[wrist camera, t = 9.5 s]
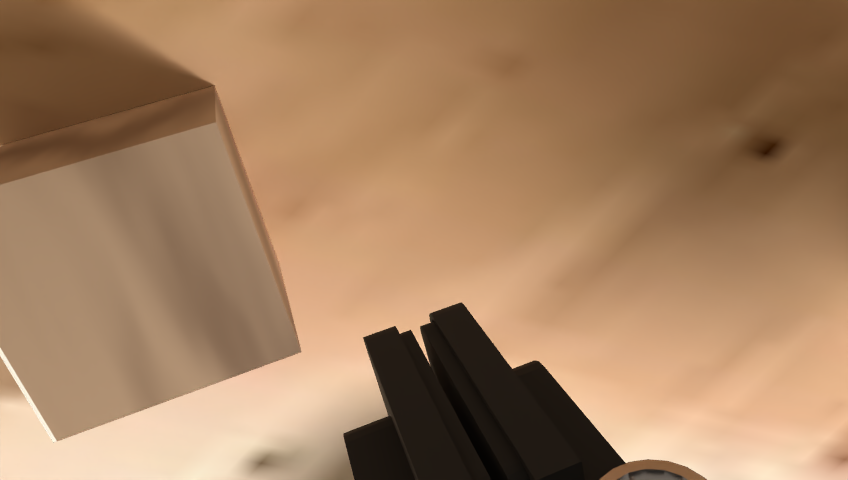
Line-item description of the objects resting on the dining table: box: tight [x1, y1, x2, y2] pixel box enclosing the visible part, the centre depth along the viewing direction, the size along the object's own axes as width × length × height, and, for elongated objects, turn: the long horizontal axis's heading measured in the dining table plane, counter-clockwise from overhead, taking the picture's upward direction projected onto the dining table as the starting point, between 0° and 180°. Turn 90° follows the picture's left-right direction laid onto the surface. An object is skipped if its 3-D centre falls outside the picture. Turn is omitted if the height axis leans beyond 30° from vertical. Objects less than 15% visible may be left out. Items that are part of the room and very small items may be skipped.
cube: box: [0, 86, 301, 443], centre depth 20 cm, size 7×7×7 cm
